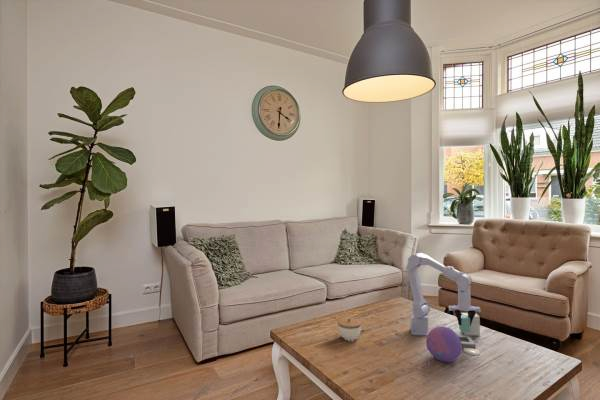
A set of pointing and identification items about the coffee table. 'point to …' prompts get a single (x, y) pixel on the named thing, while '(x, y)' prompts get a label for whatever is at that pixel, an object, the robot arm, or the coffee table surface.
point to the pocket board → (469, 341)
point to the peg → (465, 324)
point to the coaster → (471, 351)
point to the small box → (473, 325)
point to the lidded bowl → (349, 328)
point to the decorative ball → (443, 344)
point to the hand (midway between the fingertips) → (464, 324)
